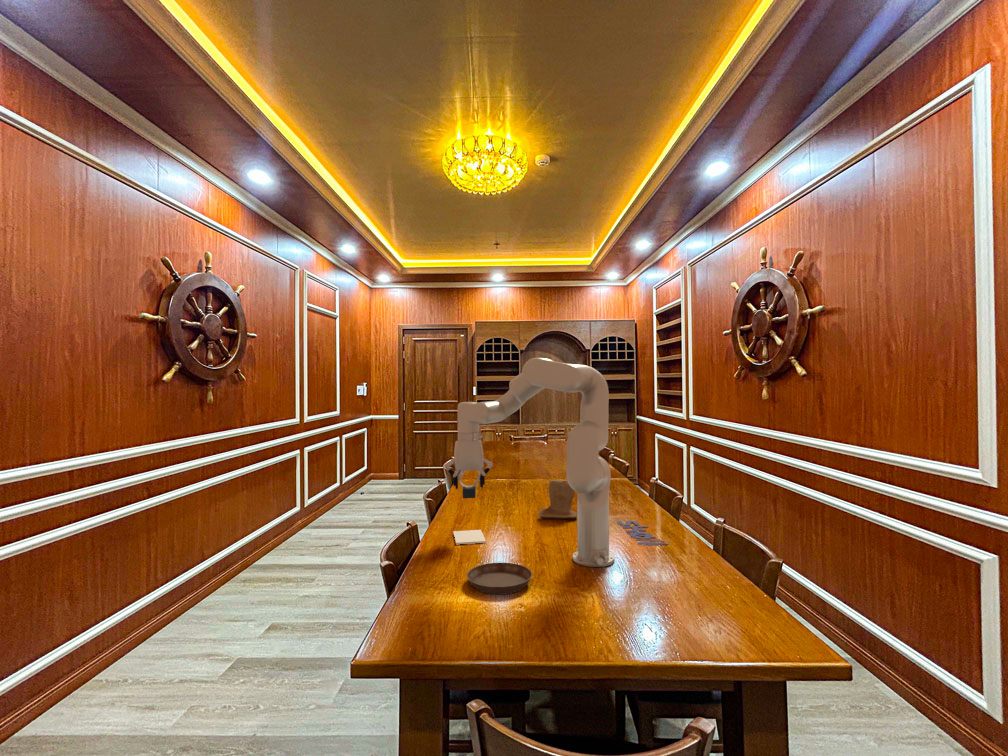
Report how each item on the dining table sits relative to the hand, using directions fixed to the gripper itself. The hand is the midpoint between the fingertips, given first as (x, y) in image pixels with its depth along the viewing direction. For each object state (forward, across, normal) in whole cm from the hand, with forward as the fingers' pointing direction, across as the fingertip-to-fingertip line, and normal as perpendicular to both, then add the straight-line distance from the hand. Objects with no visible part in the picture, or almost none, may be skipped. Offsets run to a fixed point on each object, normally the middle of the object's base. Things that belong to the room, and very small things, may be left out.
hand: (469, 487), depth 176 cm
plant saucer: (+18, -4, +40) cm, 44 cm away
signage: (+19, -61, +5) cm, 64 cm away
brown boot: (+18, -38, -21) cm, 47 cm away
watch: (+3, 0, 0) cm, 3 cm away
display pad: (+18, 0, 0) cm, 18 cm away
